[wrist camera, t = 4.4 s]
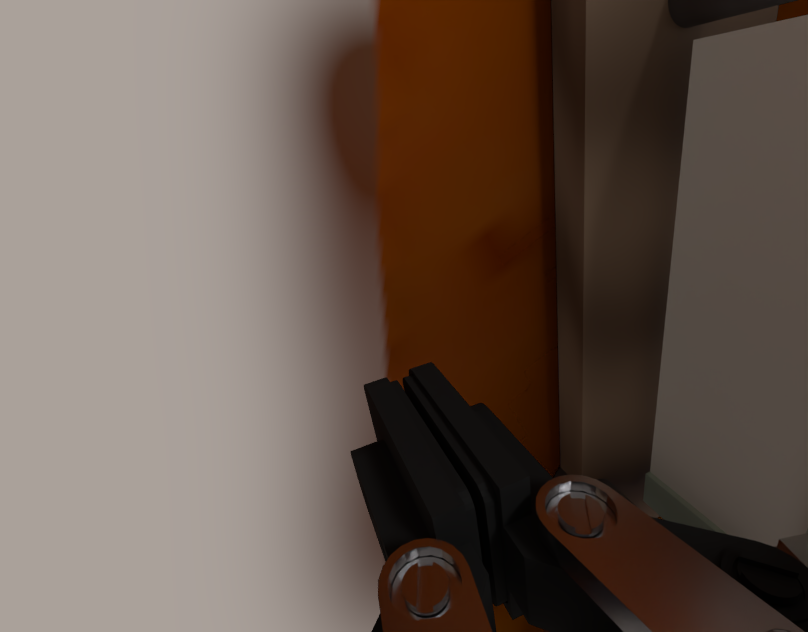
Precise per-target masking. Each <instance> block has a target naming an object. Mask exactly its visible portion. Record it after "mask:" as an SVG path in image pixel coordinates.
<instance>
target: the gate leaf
mask: <svg viewBox="0 0 808 632" xmlns="http://www.w3.org/2000/svg"><path fill="white" fill-rule="evenodd" d="M643 501H644V502H645V503H646V504H647V505H648V506H650V507H651V508H652V509H653V510H654V511H655V512H656V513H657V514H659V515H660V516H661V517H662V518H663V519H664V520H667V521H671V522H676V523H680V524H684V525H689V526H693V527H698V528H702V529H706V530H711V531H715V532H720V533H724V534H728V535H733V536H737V537H742V538H746V539H750V540H755V541H758V542H761V543H764V544H767V545H770V546H773V547H774V546H777V544H778V541H779V539H782V538H786V537H791V536H796V535H801V534H806V533H808V15H804V16H800V17H795V18H790V19H786V20H781V21H777V22H772V23H768V24H763V25H759V26H754V27H750V28H745V29H741V30H736V31H732V32H727V33H723V34H718V35H713V36H709V37H704V38H700V39H695V40H693V49H692V59H691V68H690V78H689V88H688V98H687V108H686V118H685V128H684V138H683V148H682V158H681V168H680V178H679V188H678V198H677V208H676V218H675V228H674V238H673V247H672V257H671V267H670V277H669V287H668V297H667V307H666V317H665V327H664V337H663V347H662V357H661V367H660V377H659V387H658V397H657V407H656V417H655V427H654V436H653V446H652V456H651V466H650V472H648V473H646V475H645V485H644V496H643Z"/></svg>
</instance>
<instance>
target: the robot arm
mask: <svg viewBox="0 0 808 632" xmlns="http://www.w3.org/2000/svg"><path fill="white" fill-rule="evenodd" d="M403 385H404V390H405V391H404V390H403V388H402V387H401V385H400V384H399V382H398V381H397V380H396V381H393V382H389V380H388V379H387V378H383V379H380V380H377V381H374V382H371V383H368V384H365V385H364V390H365V394H366V398H367V402H368V406H369V410H370V414H371V418H372V422H373V426H374V430H375V434H376V438H377V442H374V443H372V444H369V445H366V446H364V447H361V448H358V449H356V450H353V451H351V456H352V459H353V463H354V466H355V469H356V473H357V477H358V480H359V483H360V487H361V490H362V493H363V496H364V499H365V502H366V506H367V509H368V512H369V514H370V517H371V520H372V523H373V526H374V529H375V532H376V535H377V538H378V541H379V544H380V547H381V550H382V553H383V555H384V558H385V561H386V562H385V564H384V565H383V567H382V570H381V573H380V576H379V580H378V599H379V606H380V615H379V618H378V619H377V621H376V624H375V626H374V628H373V630H372V632H496V627H495V619H494V611H493V604H494V605H495V606H498V605H500V604H502V603H503V604H504V605H505V607H506V609H507V611H508V613H509V614H510V616H511V618H512V620H514V619H515V618H517V617H519V616H521V615H524V616H525V618H526V620H527V621H528V623H529V624H530V625H533V626H536V627H539V628H541V629H544V631H545V632H808V533H806V534H801V535H796V536H791V537H786V538H782V539H779V541H778V544H777V546H774V547H773V546H770V545H767V544H764V543H761V542H758V541H755V540H750V539H746V538H742V537H737V536H733V535H728V534H724V533H720V532H715V531H711V530H706V529H702V528H698V527H693V526H689V525H684V524H680V523H676V522H671V521H667V520H662V519H658V518H654V517H650V516H648V515H647V514H646V513H644V512H643V511H642V510H640V509H639V508H638V507H636V506H635V505H634V504H632V503H631V502H630V501H628V500H627V499H626V498H624V497H623V496H622V495H620V494H619V493H618V492H616V491H615V490H613V489H612V488H611V487H609V486H607V485H606V484H604V483H602V482H601V481H599V480H596V479H593V478H590V477H587V476H581V475H565V476H558V477H556V478H554V479H553V478H552V477H551V476H550V474H549V473H548V472H547V471H546V470H545V469H544V468H543V467H542V466H541V465H540V464H539V463H538V461H537V460H536V459H535V458H534V457H533V456H532V455H531V454H530V453H529V452H528V451H527V449H526V448H525V447H524V446H523V445H522V444H521V443H520V442H519V441H518V440H517V439H516V438H515V436H514V435H513V434H512V433H511V432H510V431H509V430H508V429H507V428H506V427H505V426H504V424H503V423H502V422H501V421H500V420H499V419H498V418H497V417H496V416H495V415H494V414H493V413H492V411H491V410H490V409H489V408H488V407H487V406H486V405H484V404H482V403H478V404H476V405H473V406H469V405H468V404H467V402H466V401H465V400H464V399H463V398H462V397H461V395H460V394H459V393H458V392H457V391H456V390H455V388H454V387H453V386H452V385H451V384H450V383H449V381H448V380H447V379H446V378H445V377H444V376H443V374H442V373H441V372H440V371H439V370H438V369H437V367H436V366H435V365H434V364H433V363H432V362H430V363H427V364H424V365H421V366H418V367H415V368H412V369H410V370H409V376H408V377H405V378H403Z"/></svg>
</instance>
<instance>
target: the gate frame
mask: <svg viewBox="0 0 808 632" xmlns="http://www.w3.org/2000/svg"><path fill="white" fill-rule="evenodd" d="M793 1H797V0H551V11H552V61H553V112H554V162H555V213H556V263H557V314H558V364H559V415H560V465H561V467H560V468H559V470H558V471H557V472H556V474H555V476H554V478H556V477H558V476H565V475H581V476H587V477H590V478H593V479H596V480H599V481H601V482H602V483H604V484H606V485H607V486H609V487H611V488H612V489H613V490H615V491H616V492H618V493H619V494H620V495H622V496H623V497H624V498H626V499H627V500H628V501H630V502H631V503H632V504H634V505H635V506H636V507H638V508H639V509H640V510H642V511H643V512H644V513H646V514H647V515H648V516H650V517H654V518H657V517H659V516H660V515H659V514H657V513H656V512H655V511H654V510H653V509H652V508H651V507H650V506H648V505H647V504H646V503H645V502H644V501H643V496H644V485H645V475H646V473H648V472H650V466H651V456H652V446H653V436H654V427H655V417H656V407H657V397H658V387H659V377H660V367H661V357H662V347H663V337H664V327H665V317H666V307H667V297H668V287H669V277H670V267H671V257H672V247H673V238H674V228H675V218H676V208H677V198H678V188H679V178H680V168H681V158H682V148H683V138H684V128H685V118H686V108H687V98H688V88H689V78H690V68H691V59H692V49H693V40H695V39H700V38H704V37H709V36H713V35H718V34H723V33H727V32H732V31H736V30H741V29H745V28H750V27H754V26H759V25H763V24H768V23H772V22H776V19H777V13H778V8H779V5H781V4H785V3H789V2H793ZM554 478H553V479H554Z"/></svg>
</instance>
